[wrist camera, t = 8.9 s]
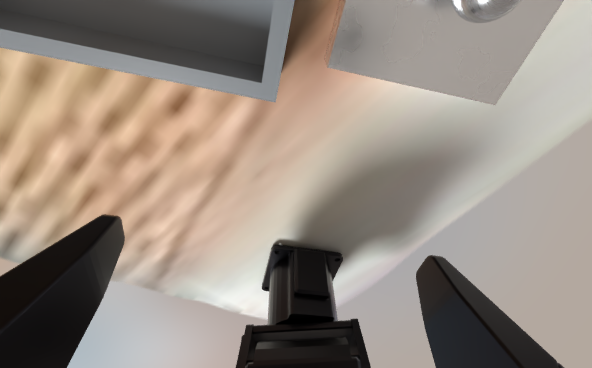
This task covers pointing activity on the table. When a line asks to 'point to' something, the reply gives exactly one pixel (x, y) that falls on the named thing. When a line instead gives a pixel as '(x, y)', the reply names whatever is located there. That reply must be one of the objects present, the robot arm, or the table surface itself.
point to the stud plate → (439, 42)
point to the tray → (160, 38)
